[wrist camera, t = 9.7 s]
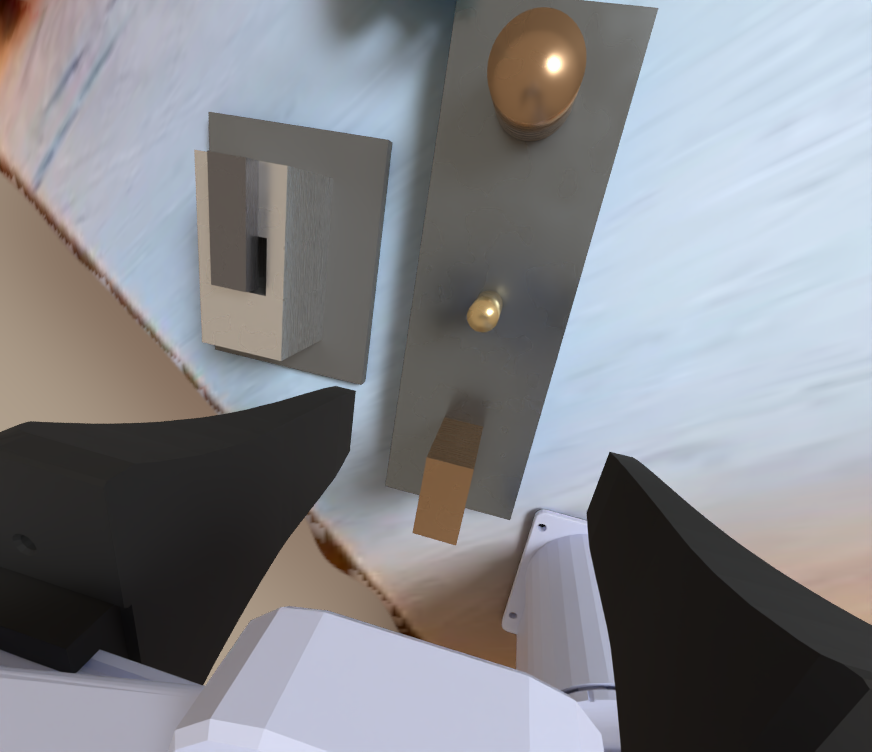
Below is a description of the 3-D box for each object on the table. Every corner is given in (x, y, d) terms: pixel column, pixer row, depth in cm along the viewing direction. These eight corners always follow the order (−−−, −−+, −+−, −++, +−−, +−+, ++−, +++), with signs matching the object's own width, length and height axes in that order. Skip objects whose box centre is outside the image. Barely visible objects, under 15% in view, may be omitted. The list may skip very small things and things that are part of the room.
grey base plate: (511, 497, 24) (506, 578, 18) (396, 466, 25) (357, 534, 19) (643, 34, 16) (705, -72, 10) (466, 14, 17) (436, -93, 11)
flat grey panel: (365, 381, 23) (361, 384, 23) (222, 346, 24) (215, 349, 24) (392, 142, 19) (388, 139, 18) (217, 115, 20) (208, 111, 20)
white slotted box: (321, 339, 22) (270, 366, 18) (254, 324, 23) (189, 346, 18) (332, 178, 19) (275, 162, 15) (255, 164, 20) (178, 145, 16)
